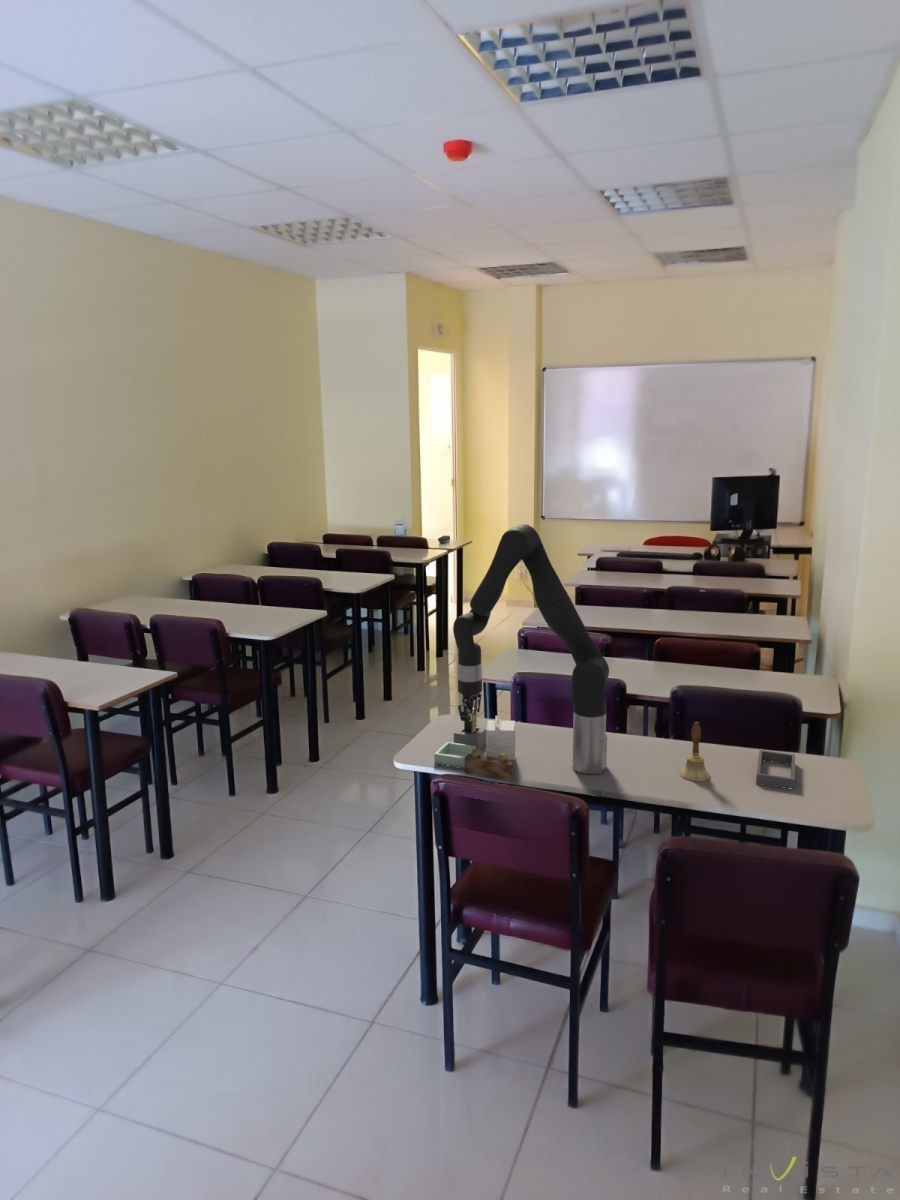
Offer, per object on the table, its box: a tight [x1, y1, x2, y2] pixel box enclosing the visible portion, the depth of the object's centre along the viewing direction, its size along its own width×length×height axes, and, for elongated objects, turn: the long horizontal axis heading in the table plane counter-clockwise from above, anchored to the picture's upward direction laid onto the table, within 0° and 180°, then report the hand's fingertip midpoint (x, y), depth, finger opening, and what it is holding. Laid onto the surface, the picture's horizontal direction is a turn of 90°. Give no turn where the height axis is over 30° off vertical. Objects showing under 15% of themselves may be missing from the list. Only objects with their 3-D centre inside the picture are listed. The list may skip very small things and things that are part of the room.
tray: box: [433, 741, 477, 770], centre depth 237 cm, size 10×10×3 cm
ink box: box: [485, 715, 516, 762], centre depth 235 cm, size 9×8×13 cm
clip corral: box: [755, 749, 796, 790], centre depth 225 cm, size 10×18×3 cm, turn 157°
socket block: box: [453, 723, 487, 750], centre depth 248 cm, size 8×8×5 cm
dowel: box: [465, 713, 477, 734], centre depth 247 cm, size 3×3×10 cm
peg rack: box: [464, 749, 516, 782], centre depth 227 cm, size 14×3×7 cm, turn 67°
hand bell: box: [679, 721, 711, 782], centre depth 224 cm, size 8×8×16 cm
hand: (470, 729), depth 247 cm, fingers closed on dowel, 3 cm apart
